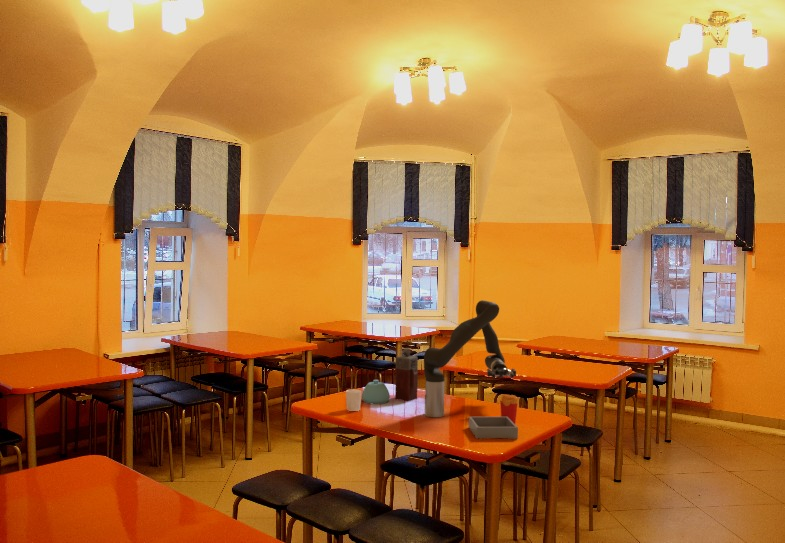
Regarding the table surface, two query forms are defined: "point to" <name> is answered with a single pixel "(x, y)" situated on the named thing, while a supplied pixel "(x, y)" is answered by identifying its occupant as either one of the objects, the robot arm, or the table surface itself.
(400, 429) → the table surface
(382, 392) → the sugar bowl
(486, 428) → the bin
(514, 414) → the french fries
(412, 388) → the brown coffee grinder
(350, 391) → the white cup
